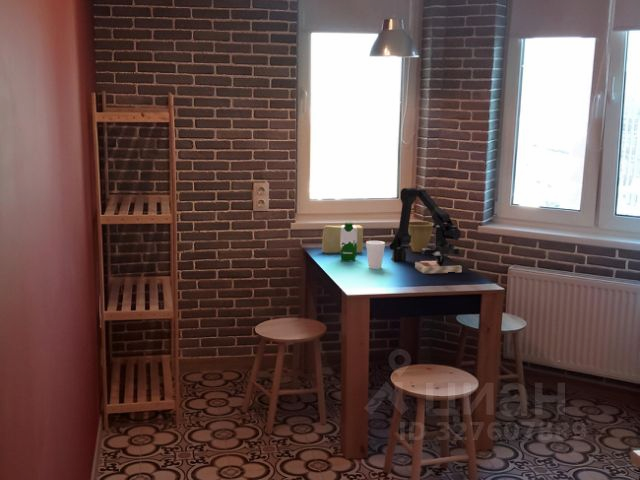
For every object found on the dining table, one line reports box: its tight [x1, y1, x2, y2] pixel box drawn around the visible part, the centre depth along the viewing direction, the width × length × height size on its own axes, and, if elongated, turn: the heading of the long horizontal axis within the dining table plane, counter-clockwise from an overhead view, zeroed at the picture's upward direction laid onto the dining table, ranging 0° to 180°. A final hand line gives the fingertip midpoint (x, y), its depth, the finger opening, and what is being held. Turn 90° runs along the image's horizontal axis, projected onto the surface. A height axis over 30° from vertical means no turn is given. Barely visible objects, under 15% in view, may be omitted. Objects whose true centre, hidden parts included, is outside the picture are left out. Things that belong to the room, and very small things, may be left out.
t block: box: [419, 260, 439, 267], centre depth 390 cm, size 10×10×4 cm
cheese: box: [321, 224, 364, 254], centre depth 432 cm, size 22×10×15 cm, turn 99°
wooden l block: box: [414, 261, 463, 275], centre depth 390 cm, size 20×13×3 cm, turn 101°
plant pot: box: [408, 220, 434, 253], centre depth 437 cm, size 15×15×16 cm
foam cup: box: [365, 240, 386, 270], centre depth 393 cm, size 10×9×13 cm
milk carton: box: [340, 222, 357, 262], centre depth 411 cm, size 9×9×20 cm
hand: (439, 268), depth 390 cm, fingers closed
